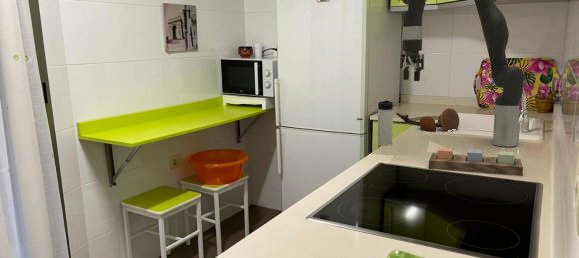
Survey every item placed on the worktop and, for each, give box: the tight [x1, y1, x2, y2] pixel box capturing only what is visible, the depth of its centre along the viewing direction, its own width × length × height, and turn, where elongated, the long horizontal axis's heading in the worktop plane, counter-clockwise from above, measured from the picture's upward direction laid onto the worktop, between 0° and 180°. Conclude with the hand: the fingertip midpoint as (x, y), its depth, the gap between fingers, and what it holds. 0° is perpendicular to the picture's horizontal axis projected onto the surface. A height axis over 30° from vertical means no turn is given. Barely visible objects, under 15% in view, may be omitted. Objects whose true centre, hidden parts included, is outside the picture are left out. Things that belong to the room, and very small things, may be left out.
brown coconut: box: [437, 107, 460, 132], centre depth 223 cm, size 12×12×6 cm
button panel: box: [428, 152, 524, 177], centre depth 161 cm, size 30×12×3 cm, turn 67°
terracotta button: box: [436, 147, 454, 160], centre depth 165 cm, size 5×5×3 cm
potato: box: [418, 115, 437, 133], centre depth 225 cm, size 8×12×8 cm
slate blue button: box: [466, 149, 484, 162], centre depth 161 cm, size 5×5×3 cm
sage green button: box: [497, 150, 516, 164], centre depth 157 cm, size 5×5×3 cm
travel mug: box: [377, 100, 394, 147], centre depth 197 cm, size 6×7×20 cm
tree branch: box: [395, 112, 440, 127], centre depth 243 cm, size 22×30×8 cm
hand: (411, 80), depth 179 cm, fingers open, 8 cm apart
